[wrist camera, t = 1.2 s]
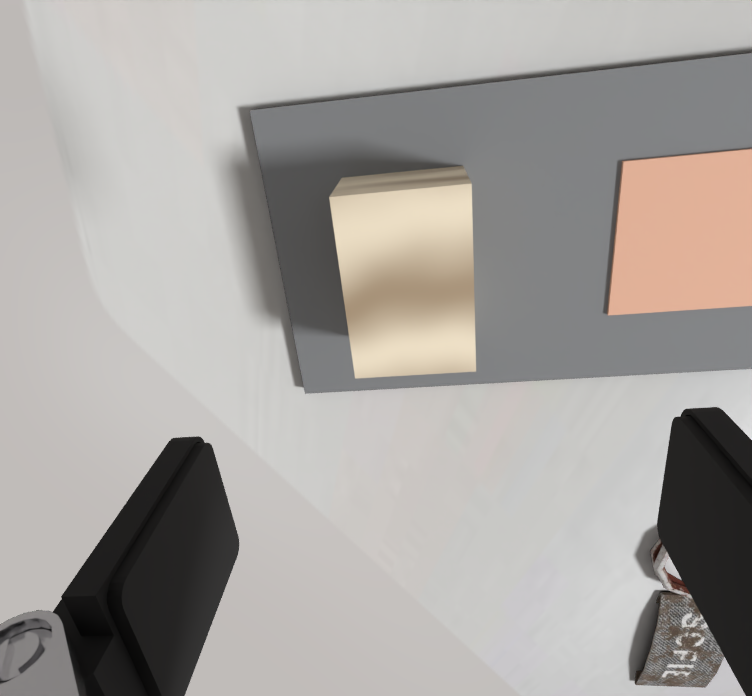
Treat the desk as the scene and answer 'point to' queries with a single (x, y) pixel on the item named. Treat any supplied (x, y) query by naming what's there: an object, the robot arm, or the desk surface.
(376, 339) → the birch tile
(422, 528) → the desk surface
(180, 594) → the robot arm
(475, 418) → the desk surface
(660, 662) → the keychain
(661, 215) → the mat
